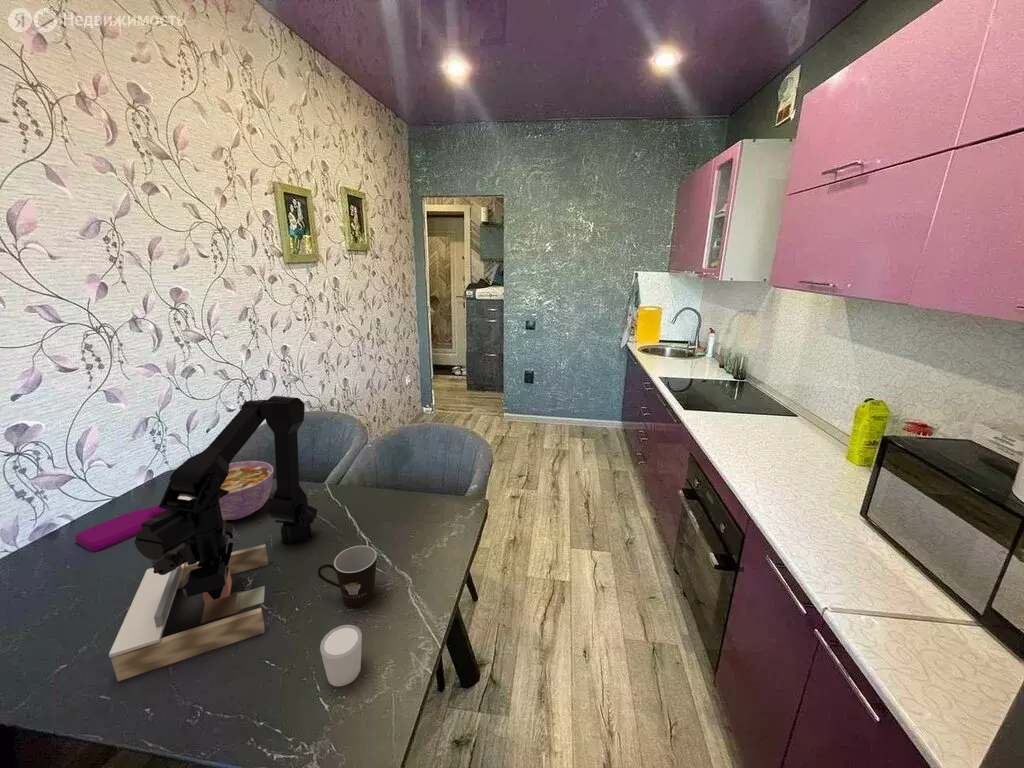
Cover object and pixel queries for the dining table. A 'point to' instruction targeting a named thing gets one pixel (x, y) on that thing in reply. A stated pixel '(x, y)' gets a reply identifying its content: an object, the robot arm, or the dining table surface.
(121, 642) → the lid
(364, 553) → the coffee mug
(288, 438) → the robot arm
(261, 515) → the dining table surface
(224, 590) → the coral block
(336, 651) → the white cylinder
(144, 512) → the spray bottle
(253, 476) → the bowl of food
